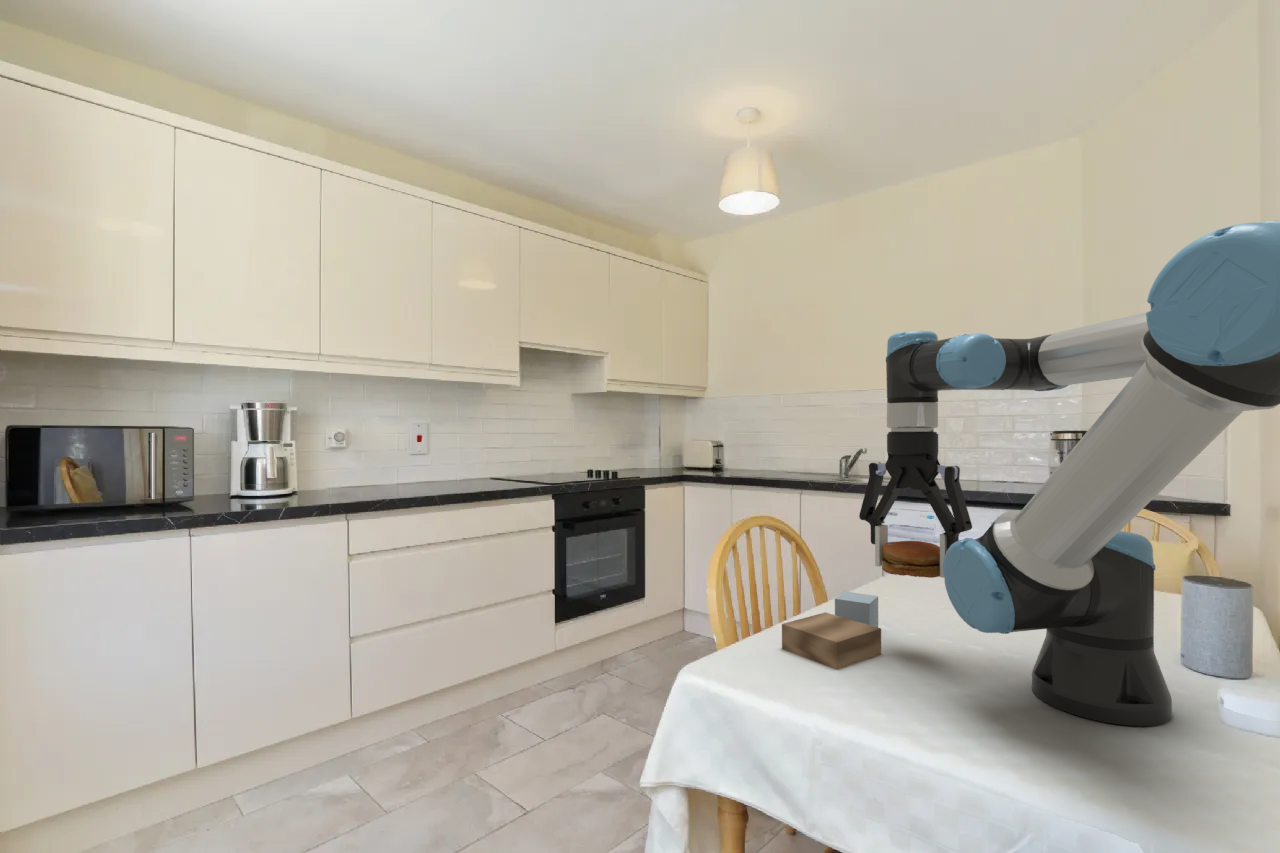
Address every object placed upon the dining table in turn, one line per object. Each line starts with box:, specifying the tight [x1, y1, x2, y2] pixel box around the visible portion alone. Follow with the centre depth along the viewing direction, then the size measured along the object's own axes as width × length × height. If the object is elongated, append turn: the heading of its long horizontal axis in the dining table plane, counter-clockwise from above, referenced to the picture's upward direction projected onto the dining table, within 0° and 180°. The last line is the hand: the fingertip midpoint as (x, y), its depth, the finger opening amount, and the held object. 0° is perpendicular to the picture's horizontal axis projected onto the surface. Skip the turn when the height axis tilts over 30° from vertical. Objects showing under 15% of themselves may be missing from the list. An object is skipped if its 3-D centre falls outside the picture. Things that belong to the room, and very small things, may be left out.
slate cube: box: [834, 590, 879, 628], centre depth 115 cm, size 6×6×6 cm
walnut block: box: [781, 611, 882, 671], centre depth 105 cm, size 11×11×4 cm
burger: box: [881, 540, 941, 578], centre depth 102 cm, size 10×9×5 cm
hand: (912, 570), depth 102 cm, fingers closed on burger, 10 cm apart
